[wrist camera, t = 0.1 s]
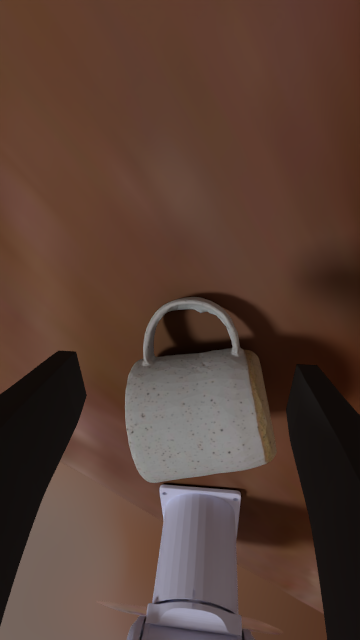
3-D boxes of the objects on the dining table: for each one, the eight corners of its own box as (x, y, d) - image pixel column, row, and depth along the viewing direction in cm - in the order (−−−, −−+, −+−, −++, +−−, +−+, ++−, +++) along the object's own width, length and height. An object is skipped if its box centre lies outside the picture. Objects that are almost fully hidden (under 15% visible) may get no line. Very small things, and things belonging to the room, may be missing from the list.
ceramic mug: (269, 401, 25) (286, 501, 18) (168, 412, 27) (151, 507, 20) (245, 277, 20) (257, 356, 13) (122, 302, 22) (79, 382, 15)
